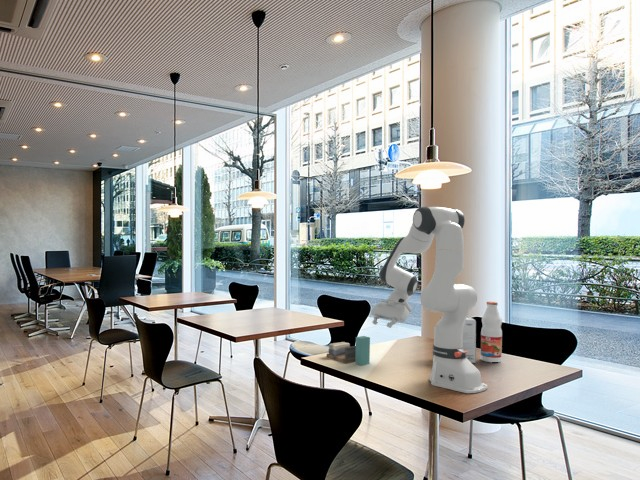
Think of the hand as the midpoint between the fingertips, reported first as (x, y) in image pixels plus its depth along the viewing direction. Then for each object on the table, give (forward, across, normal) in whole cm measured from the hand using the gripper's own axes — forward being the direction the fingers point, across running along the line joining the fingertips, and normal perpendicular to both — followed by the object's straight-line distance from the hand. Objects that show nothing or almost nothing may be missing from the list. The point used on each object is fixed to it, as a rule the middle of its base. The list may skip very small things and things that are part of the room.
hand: (381, 325), depth 216 cm
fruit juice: (-20, +30, +43) cm, 56 cm away
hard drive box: (-10, +21, +33) cm, 41 cm away
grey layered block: (+20, -11, +3) cm, 23 cm away
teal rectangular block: (+20, 0, +3) cm, 20 cm away
